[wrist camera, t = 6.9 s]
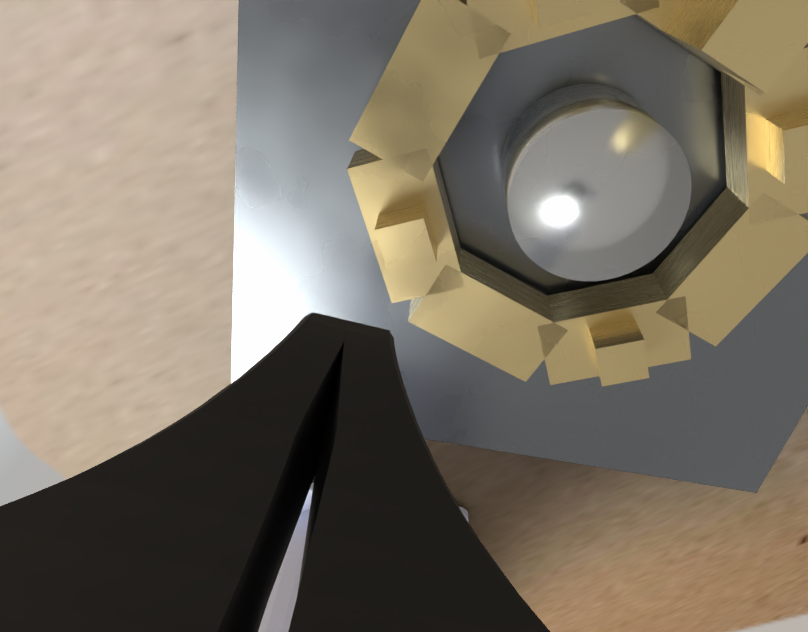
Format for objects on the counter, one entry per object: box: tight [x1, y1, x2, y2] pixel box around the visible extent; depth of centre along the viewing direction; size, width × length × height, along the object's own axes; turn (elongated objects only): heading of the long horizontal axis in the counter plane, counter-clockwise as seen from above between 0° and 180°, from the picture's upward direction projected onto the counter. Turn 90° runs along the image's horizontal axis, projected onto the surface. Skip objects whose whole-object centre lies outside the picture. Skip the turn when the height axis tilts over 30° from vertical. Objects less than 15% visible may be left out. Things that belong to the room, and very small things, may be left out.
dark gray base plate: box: [231, 0, 808, 493], centre depth 17 cm, size 20×18×4 cm
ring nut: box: [347, 0, 808, 386], centre depth 14 cm, size 15×11×4 cm
